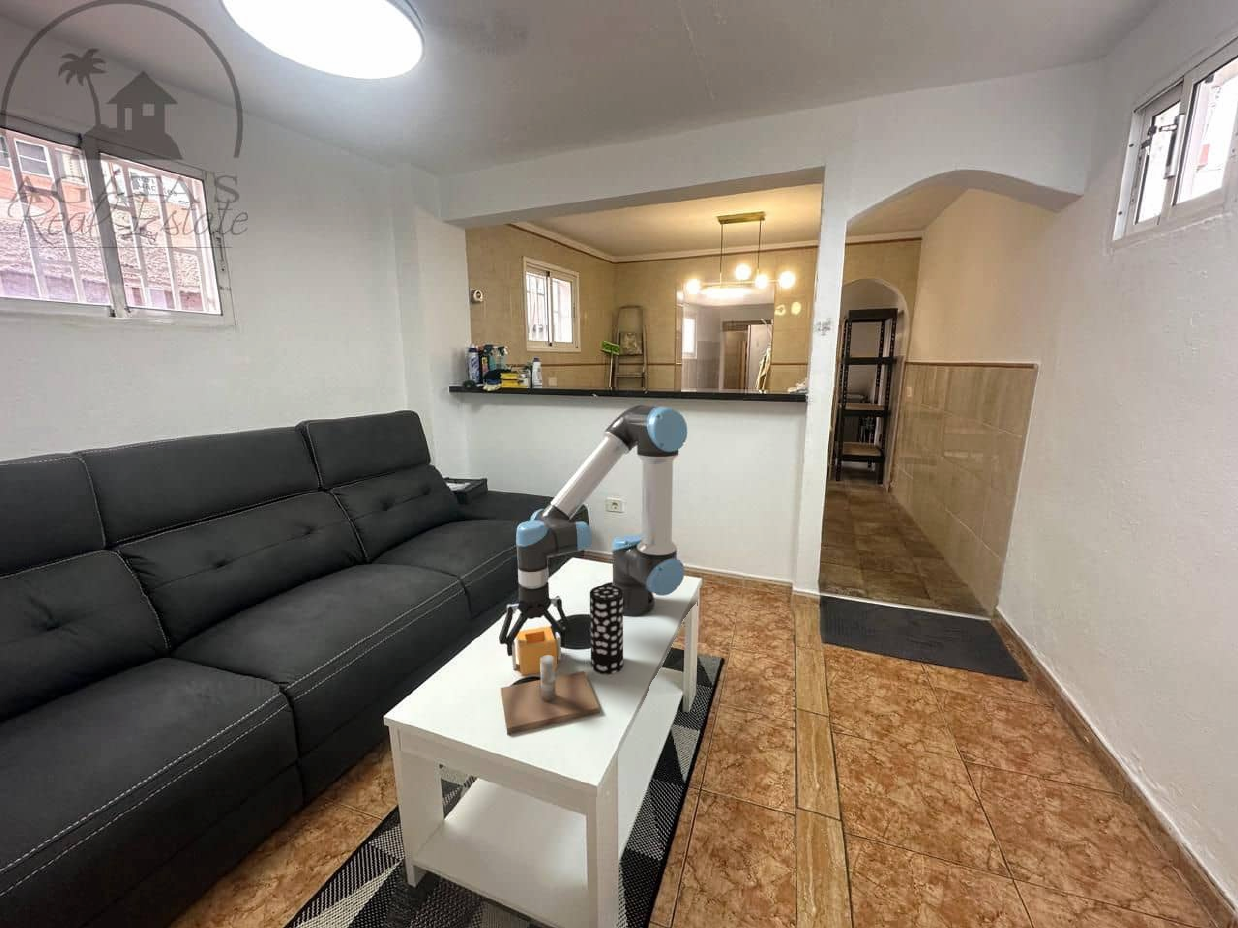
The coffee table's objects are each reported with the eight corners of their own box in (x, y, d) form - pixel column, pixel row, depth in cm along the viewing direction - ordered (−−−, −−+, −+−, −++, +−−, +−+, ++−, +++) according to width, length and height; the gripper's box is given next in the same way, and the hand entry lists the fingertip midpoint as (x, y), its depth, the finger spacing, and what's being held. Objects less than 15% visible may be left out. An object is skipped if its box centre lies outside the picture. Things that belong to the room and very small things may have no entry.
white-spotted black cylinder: (599, 677, 120) (598, 602, 117) (585, 660, 128) (584, 589, 124) (628, 668, 124) (628, 595, 121) (614, 652, 131) (613, 582, 128)
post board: (583, 676, 121) (582, 635, 119) (599, 713, 108) (598, 668, 106) (501, 693, 115) (498, 650, 113) (507, 734, 102) (504, 687, 100)
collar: (550, 649, 133) (549, 626, 132) (557, 668, 124) (556, 643, 123) (517, 655, 130) (516, 631, 129) (521, 675, 122) (520, 649, 120)
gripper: (575, 570, 130) (577, 645, 134) (484, 582, 123) (489, 661, 127) (582, 581, 123) (583, 660, 127) (486, 595, 116) (491, 678, 120)
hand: (536, 661), depth 127 cm, fingers open, 11 cm apart
